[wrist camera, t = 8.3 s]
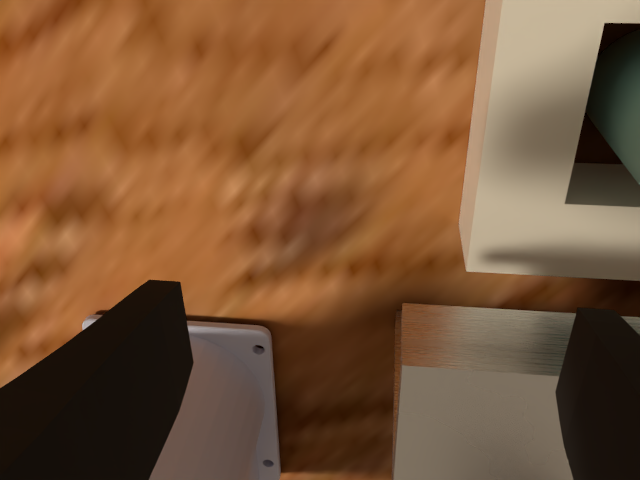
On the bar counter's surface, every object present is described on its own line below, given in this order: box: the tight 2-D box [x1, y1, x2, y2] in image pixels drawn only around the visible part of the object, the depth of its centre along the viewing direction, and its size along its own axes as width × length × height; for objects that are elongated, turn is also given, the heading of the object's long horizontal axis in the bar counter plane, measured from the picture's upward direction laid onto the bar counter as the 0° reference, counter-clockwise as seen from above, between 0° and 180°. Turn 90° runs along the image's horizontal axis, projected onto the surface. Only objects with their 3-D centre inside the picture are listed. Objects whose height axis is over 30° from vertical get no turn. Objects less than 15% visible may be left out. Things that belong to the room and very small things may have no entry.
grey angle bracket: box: [392, 303, 640, 480], centre depth 19 cm, size 6×14×8 cm, turn 91°
